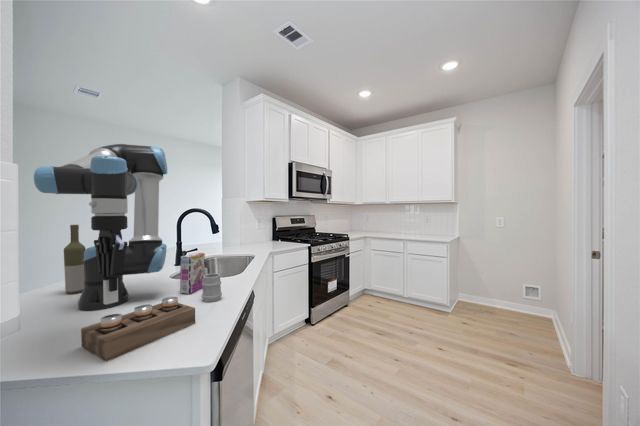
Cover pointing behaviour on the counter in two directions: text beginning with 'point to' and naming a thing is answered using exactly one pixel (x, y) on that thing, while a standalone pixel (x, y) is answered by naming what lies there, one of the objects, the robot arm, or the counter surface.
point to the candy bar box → (191, 272)
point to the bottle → (74, 263)
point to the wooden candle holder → (136, 331)
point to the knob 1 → (111, 323)
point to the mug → (211, 287)
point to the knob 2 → (142, 313)
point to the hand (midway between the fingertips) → (110, 302)
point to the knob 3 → (169, 304)
